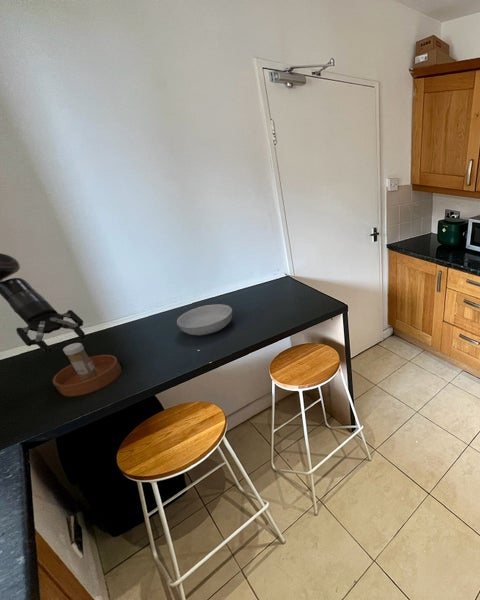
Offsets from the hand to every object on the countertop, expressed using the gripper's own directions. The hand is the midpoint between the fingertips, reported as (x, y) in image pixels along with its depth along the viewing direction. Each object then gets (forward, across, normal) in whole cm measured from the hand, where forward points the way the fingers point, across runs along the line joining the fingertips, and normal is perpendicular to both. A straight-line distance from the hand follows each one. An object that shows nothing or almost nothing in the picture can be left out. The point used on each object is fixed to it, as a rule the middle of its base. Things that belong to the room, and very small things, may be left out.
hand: (67, 343), depth 104 cm
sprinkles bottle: (+12, 0, +6) cm, 14 cm away
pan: (+13, 0, +7) cm, 14 cm away
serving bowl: (+18, +39, +2) cm, 43 cm away
